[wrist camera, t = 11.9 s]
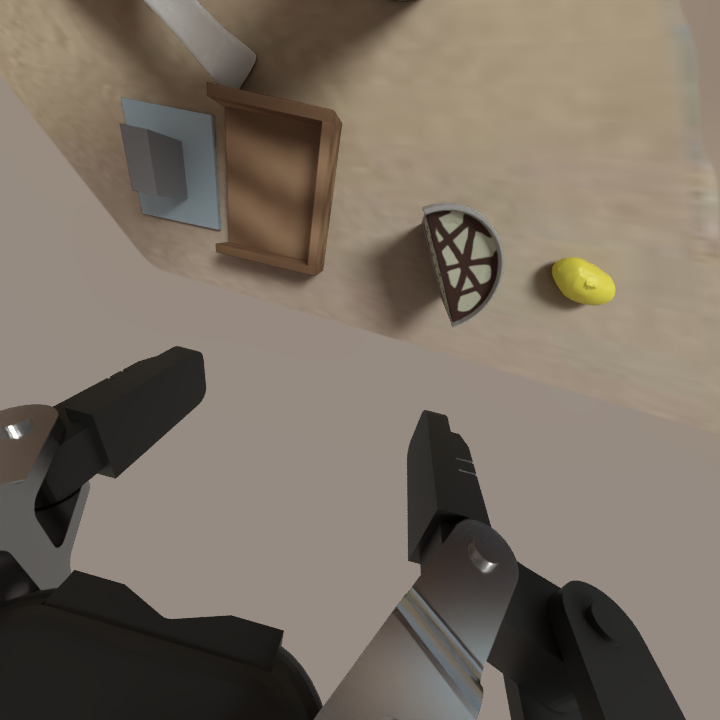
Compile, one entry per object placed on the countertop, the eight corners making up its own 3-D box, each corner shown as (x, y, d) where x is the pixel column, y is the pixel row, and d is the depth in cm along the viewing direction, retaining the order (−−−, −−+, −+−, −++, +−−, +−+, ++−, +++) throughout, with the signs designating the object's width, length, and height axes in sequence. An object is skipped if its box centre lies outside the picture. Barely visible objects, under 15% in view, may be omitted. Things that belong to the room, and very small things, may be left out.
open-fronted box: (229, 98, 30) (206, 82, 27) (342, 123, 30) (333, 109, 26) (233, 249, 38) (216, 251, 34) (323, 270, 37) (314, 275, 34)
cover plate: (128, 100, 32) (74, 77, 27) (216, 117, 32) (178, 97, 26) (148, 213, 38) (107, 212, 32) (223, 229, 37) (193, 231, 32)
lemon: (566, 244, 32) (586, 247, 28) (611, 285, 33) (635, 292, 30) (536, 274, 34) (551, 280, 30) (580, 311, 35) (599, 321, 32)
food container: (489, 290, 35) (518, 314, 27) (442, 305, 37) (454, 332, 28) (471, 188, 31) (498, 174, 22) (418, 210, 32) (423, 206, 24)
